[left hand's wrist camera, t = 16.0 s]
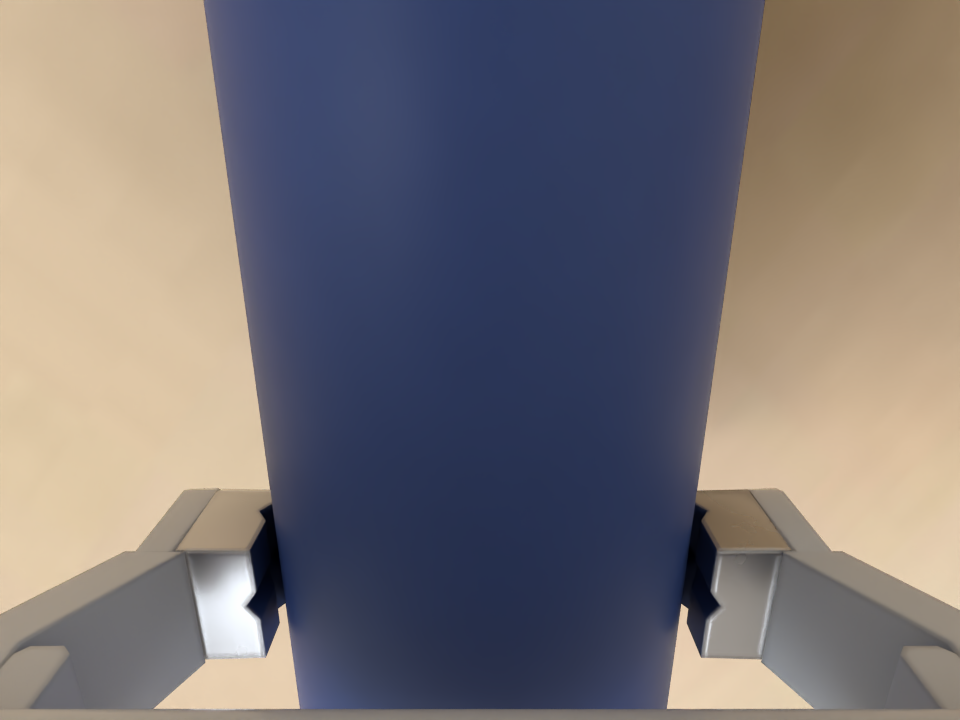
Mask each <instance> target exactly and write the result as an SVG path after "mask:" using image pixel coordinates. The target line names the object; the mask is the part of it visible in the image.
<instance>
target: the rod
mask: <svg viewBox="0 0 960 720" xmlns="http://www.w3.org/2000/svg"><path fill="white" fill-rule="evenodd" d="M764 4H765V0H204V7H205V14H206V21H207V29H208V36H209V43H210V51H211V58H212V65H213V73H214V80H215V87H216V95H217V102H218V110H219V117H220V124H221V132H222V139H223V146H224V154H225V161H226V168H227V176H228V183H229V190H230V198H231V205H232V212H233V220H234V227H235V234H236V242H237V249H238V256H239V264H240V271H241V278H242V286H243V293H244V301H245V308H246V315H247V323H248V330H249V337H250V345H251V352H252V359H253V367H254V374H255V381H256V389H257V396H258V403H259V411H260V418H261V425H262V433H263V440H264V447H265V455H266V462H267V469H268V477H269V484H270V491H271V499H272V506H273V514H274V521H275V528H276V536H277V543H278V550H279V558H280V565H281V572H282V580H283V587H284V594H285V602H286V609H287V616H288V624H289V631H290V638H291V646H292V653H293V660H294V668H295V675H296V682H297V690H298V697H299V705H300V709H667V702H668V695H669V688H670V681H671V674H672V666H673V659H674V652H675V645H676V638H677V630H678V623H679V616H680V609H681V602H682V594H683V587H684V580H685V573H686V566H687V558H688V551H689V544H690V537H691V530H692V522H693V515H694V508H695V501H696V494H697V486H698V479H699V472H700V465H701V458H702V450H703V443H704V436H705V429H706V422H707V414H708V407H709V400H710V393H711V386H712V378H713V371H714V364H715V357H716V350H717V342H718V335H719V328H720V321H721V314H722V306H723V299H724V292H725V285H726V278H727V270H728V263H729V256H730V249H731V242H732V234H733V227H734V220H735V213H736V206H737V198H738V191H739V184H740V177H741V170H742V162H743V155H744V148H745V141H746V134H747V126H748V119H749V112H750V105H751V98H752V90H753V83H754V76H755V69H756V62H757V54H758V47H759V40H760V33H761V26H762V18H763V11H764Z"/></svg>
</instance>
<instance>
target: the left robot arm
mask: <svg viewBox="0 0 960 720" xmlns="http://www.w3.org/2000/svg"><path fill="white" fill-rule="evenodd" d="M285 603H286V602H285V594H284V587H283V580H282V572H281V565H280V558H279V550H278V543H277V536H276V528H275V521H274V514H273V506H272V499H271V491H270V490H251V489H222V490H221V489H189V490H185V491H183V492H182V493H181V495H180V496H179V497H178V498H177V500H176V501H175V502H174V503H173V505H172V506H171V507H170V508H169V510H168V511H167V512H166V514H165V515H164V516H163V517H162V519H161V520H160V521H159V522H158V524H157V525H156V526H155V527H154V529H153V530H152V531H151V532H150V534H149V535H148V536H147V537H146V539H145V540H144V541H143V543H142V544H141V545H140V546H139V548H138V549H137V550H136V551H125V552H123V553H121V554H119V555H117V556H115V557H113V558H111V559H109V560H107V561H105V562H103V563H101V564H99V565H97V566H95V567H93V568H91V569H89V570H87V571H85V572H83V573H81V574H79V575H77V576H75V577H73V578H71V579H69V580H67V581H65V582H63V583H61V584H59V585H57V586H55V587H53V588H52V589H50V590H48V591H46V592H44V593H42V594H40V595H38V596H36V597H34V598H32V599H30V600H28V601H26V602H24V603H22V604H20V605H18V606H16V607H14V608H12V609H10V610H8V611H6V612H4V613H2V614H0V720H960V610H958V609H956V608H954V607H952V606H950V605H948V604H946V603H944V602H942V601H940V600H938V599H936V598H934V597H932V596H930V595H928V594H926V593H924V592H922V591H920V590H918V589H916V588H914V587H912V586H910V585H908V584H906V583H904V582H902V581H900V580H898V579H896V578H894V577H892V576H890V575H888V574H886V573H884V572H882V571H880V570H878V569H876V568H874V567H872V566H870V565H868V564H866V563H864V562H862V561H860V560H858V559H856V558H854V557H852V556H850V555H848V554H846V553H845V552H843V551H831V550H830V549H829V547H828V546H827V545H826V544H825V542H824V541H823V540H822V539H821V537H820V536H819V535H818V534H817V533H816V531H815V530H814V529H813V528H812V526H811V525H810V524H809V523H808V521H807V520H806V519H805V518H804V517H803V515H802V514H801V513H800V512H799V510H798V509H797V508H796V507H795V505H794V504H793V503H792V502H791V501H790V499H789V498H788V497H787V496H786V494H785V493H784V492H783V491H781V490H779V489H777V488H769V489H744V490H706V491H697V494H696V501H695V508H694V515H693V522H692V530H691V537H690V544H689V551H688V558H687V566H686V573H685V580H684V587H683V594H682V602H681V604H683V605H684V606H685V607H687V608H688V617H687V625H688V627H689V630H690V632H691V634H692V637H693V639H694V642H695V644H696V646H697V649H698V651H699V654H700V656H701V658H734V659H762V661H761V662H762V663H763V664H764V665H765V666H766V667H768V668H769V669H770V670H771V671H772V672H773V673H774V674H776V675H777V676H778V677H779V678H780V679H781V680H782V681H783V682H785V683H786V684H787V685H788V686H789V687H790V688H791V689H793V690H794V691H795V692H796V693H797V694H798V695H799V696H801V697H802V698H803V699H804V700H805V701H806V702H807V703H809V704H810V705H811V706H812V707H813V708H814V709H153V708H154V707H156V706H157V705H158V704H159V703H160V702H161V701H162V700H164V699H165V698H166V697H167V696H168V695H169V694H170V693H171V692H173V691H174V690H175V689H176V688H177V687H178V686H179V685H180V684H182V683H183V682H184V681H185V680H186V679H187V678H188V677H190V676H191V675H192V674H193V673H194V672H195V671H196V670H197V669H199V668H200V667H201V666H202V665H203V664H204V663H205V659H232V658H266V656H267V653H268V651H269V648H270V646H271V643H272V641H273V638H274V636H275V633H276V631H277V628H278V626H279V623H280V622H279V614H278V608H279V607H281V606H282V605H283V604H285Z"/></svg>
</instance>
